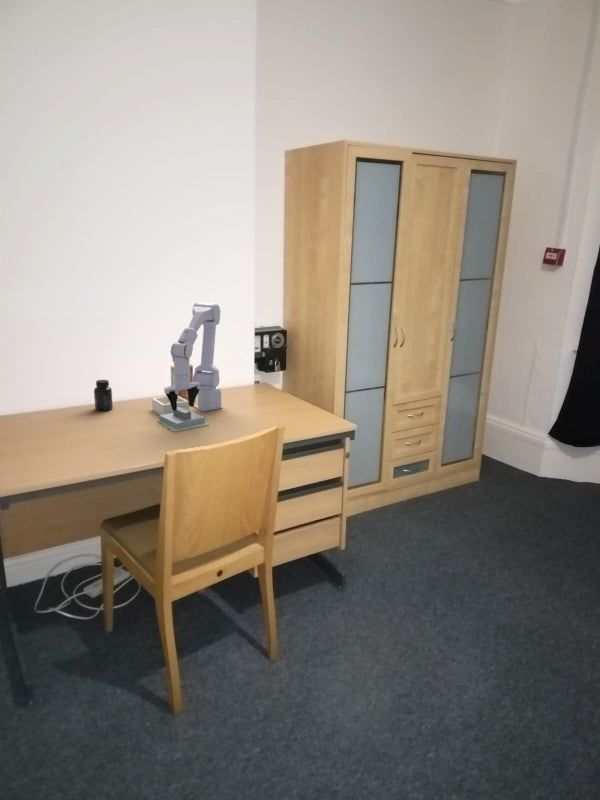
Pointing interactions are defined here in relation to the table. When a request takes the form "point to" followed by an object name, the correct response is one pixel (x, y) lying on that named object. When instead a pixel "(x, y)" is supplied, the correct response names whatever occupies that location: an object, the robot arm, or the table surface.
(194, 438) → the table surface
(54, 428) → the table surface
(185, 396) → the candy box
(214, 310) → the robot arm
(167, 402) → the storage box
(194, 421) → the lid
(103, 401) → the supplement bottle
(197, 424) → the mat
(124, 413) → the table surface
